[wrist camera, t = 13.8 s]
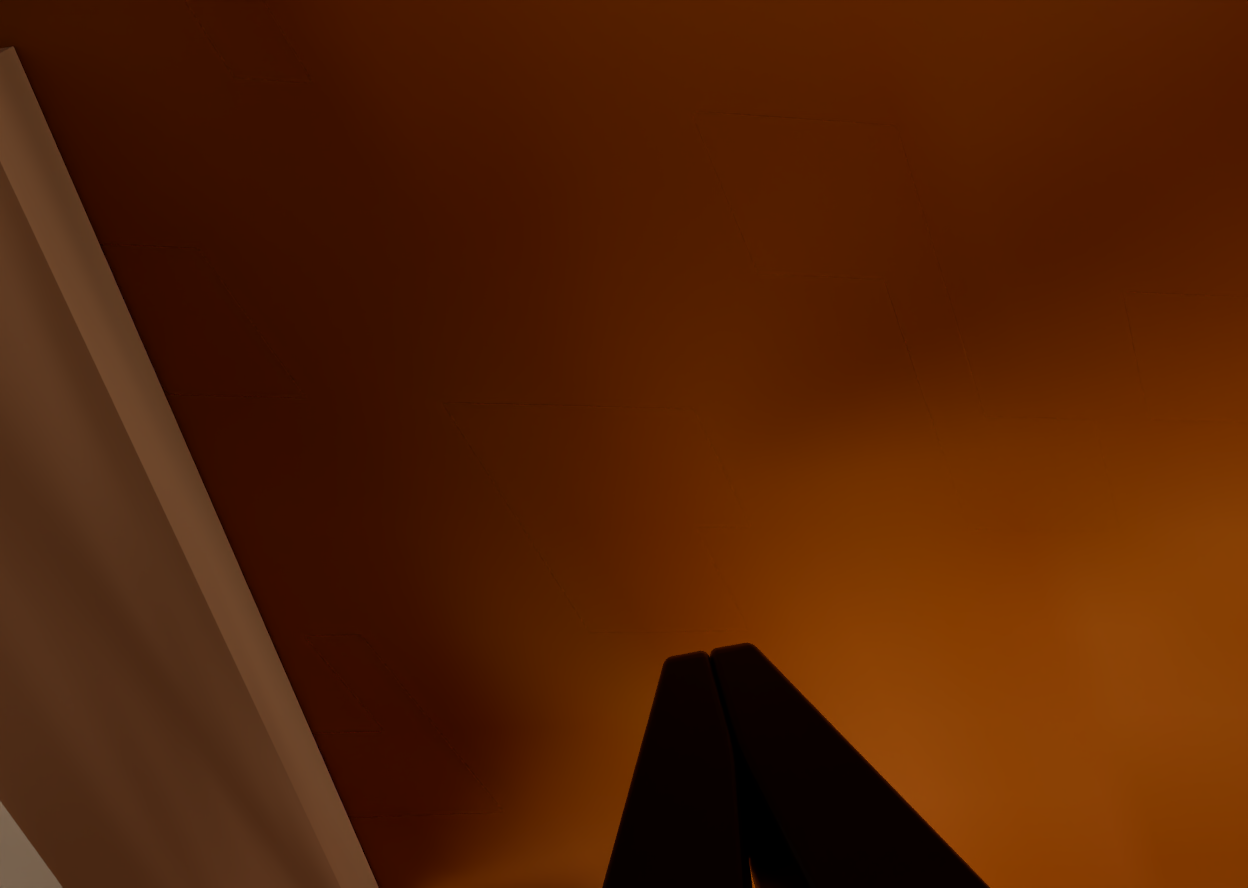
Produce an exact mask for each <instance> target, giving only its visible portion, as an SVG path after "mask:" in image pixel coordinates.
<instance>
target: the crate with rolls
mask: <svg viewBox="0 0 1248 888" xmlns="http://www.w3.org/2000/svg"><path fill="white" fill-rule="evenodd" d="M0 888H379V887H378V885H377V883H376V880H375V878H374V876H373V873H372V871H371V869H370V866H369V864H368V862H367V859H366V857H365V855H364V853H363V850H362V848H361V846H360V843H359V841H358V839H357V836H356V834H355V832H354V830H353V827H352V825H351V823H350V820H349V818H348V816H347V813H346V811H345V809H344V806H343V804H342V802H341V800H340V797H339V795H338V793H337V790H336V788H335V786H334V783H333V781H332V779H331V777H330V774H329V772H328V770H327V767H326V765H325V763H324V760H323V758H322V756H321V753H320V751H319V749H318V747H317V744H316V742H315V740H314V737H313V735H312V733H311V730H310V728H309V726H308V724H307V721H306V719H305V717H304V714H303V712H302V710H301V707H300V705H299V703H298V700H297V698H296V696H295V694H294V691H293V689H292V687H291V684H290V682H289V680H288V677H287V675H286V673H285V671H284V668H283V666H282V664H281V661H280V659H279V657H278V654H277V652H276V650H275V648H274V645H273V643H272V641H271V638H270V636H269V634H268V631H267V629H266V627H265V624H264V622H263V620H262V618H261V615H260V613H259V611H258V608H257V606H256V604H255V601H254V599H253V597H252V595H251V592H250V590H249V588H248V585H247V583H246V581H245V578H244V576H243V574H242V571H241V569H240V567H239V565H238V562H237V560H236V558H235V555H234V553H233V551H232V548H231V546H230V544H229V542H228V539H227V537H226V535H225V532H224V530H223V528H222V525H221V523H220V521H219V518H218V516H217V514H216V512H215V509H214V507H213V505H212V502H211V500H210V498H209V495H208V493H207V491H206V489H205V486H204V484H203V482H202V479H201V477H200V475H199V472H198V470H197V468H196V465H195V463H194V461H193V459H192V456H191V454H190V452H189V449H188V447H187V445H186V442H185V440H184V438H183V436H182V433H181V431H180V429H179V426H178V424H177V422H176V419H175V417H174V415H173V413H172V410H171V408H170V406H169V403H168V401H167V399H166V396H165V394H164V392H163V389H162V387H161V385H160V383H159V380H158V378H157V376H156V373H155V371H154V369H153V366H152V364H151V362H150V360H149V357H148V355H147V353H146V350H145V348H144V346H143V343H142V341H141V339H140V336H139V334H138V332H137V330H136V327H135V325H134V323H133V320H132V318H131V316H130V313H129V311H128V309H127V307H126V304H125V302H124V300H123V297H122V295H121V293H120V290H119V288H118V286H117V283H116V281H115V279H114V277H113V274H112V272H111V270H110V267H109V265H108V263H107V260H106V258H105V256H104V254H103V251H102V249H101V247H100V244H99V242H98V240H97V237H96V235H95V233H94V230H93V228H92V226H91V224H90V221H89V219H88V217H87V214H86V212H85V210H84V207H83V205H82V203H81V201H80V198H79V196H78V194H77V191H76V189H75V187H74V184H73V182H72V180H71V177H70V175H69V173H68V171H67V168H66V166H65V164H64V161H63V159H62V157H61V154H60V152H59V150H58V148H57V145H56V143H55V141H54V138H53V136H52V134H51V131H50V129H49V127H48V125H47V122H46V120H45V118H44V115H43V113H42V111H41V108H40V106H39V104H38V101H37V99H36V97H35V95H34V92H33V90H32V88H31V85H30V83H29V81H28V78H27V76H26V74H25V72H24V69H23V67H22V65H21V62H20V60H19V58H18V55H17V53H16V51H15V48H14V46H12V47H5V48H0Z"/></svg>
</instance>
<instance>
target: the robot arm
mask: <svg viewBox="0 0 1248 888" xmlns="http://www.w3.org/2000/svg"><path fill="white" fill-rule="evenodd" d="M750 869H751V872H750ZM751 873H752V877H753V881H754V884H755V887H756V888H990V887H989V886H988V885H987V884H986V883H985V882H984V881H983V880H982V879H981V878H980V877H979V876H978V875H977V874H976V873H975V872H974V871H973V870H972V869H971V868H970V867H969V865H968V864H967V863H966V862H965V861H964V860H963V859H962V858H961V857H960V856H959V855H958V854H957V853H956V852H955V851H954V850H953V849H952V848H951V847H950V846H949V845H948V844H947V843H946V842H945V841H944V840H943V839H942V838H941V837H940V836H939V835H938V834H937V833H936V831H935V830H934V829H933V828H932V827H931V826H930V825H929V824H928V823H927V822H926V821H925V820H924V819H923V818H922V817H921V816H920V815H919V814H918V813H917V812H916V811H915V810H914V809H913V808H912V807H911V806H910V805H909V804H908V803H907V802H906V801H905V800H904V799H903V798H902V796H901V795H900V794H899V793H898V792H897V791H896V790H895V789H894V788H893V787H892V786H891V785H890V784H889V783H888V782H887V781H886V780H885V779H884V778H883V777H882V776H881V775H880V774H879V773H878V772H877V771H876V770H875V769H874V768H873V767H872V766H871V765H870V764H869V763H868V761H867V760H866V759H865V758H864V757H863V756H862V755H861V754H860V753H859V752H858V751H857V750H856V749H855V748H854V747H853V746H852V745H851V744H850V743H849V742H848V741H847V740H846V739H845V738H844V737H843V736H842V735H841V734H840V733H839V732H838V731H837V730H836V729H835V727H834V726H833V725H832V724H831V723H830V722H829V721H828V720H827V719H826V718H825V717H824V716H823V715H822V714H821V713H820V712H819V711H818V710H817V709H816V708H815V707H814V706H813V705H812V704H811V703H810V702H809V701H808V700H807V699H806V698H805V697H804V696H803V695H802V694H801V692H800V691H799V690H798V689H797V688H796V687H795V686H794V685H793V684H792V683H791V682H790V681H789V680H788V679H787V678H786V677H785V676H784V675H783V674H782V673H781V672H780V671H779V670H778V669H777V668H776V667H775V666H774V665H773V664H772V663H771V662H770V661H769V660H768V659H767V657H766V656H765V655H764V654H763V653H762V652H761V651H760V650H759V649H758V648H757V647H755V646H754V645H753V644H750V643H742V644H736V645H731V646H725V647H720V648H715V649H714V650H712V651H711V654H710V657H709V655H708V654H707V653H706V652H704V651H698V652H692V653H687V654H682V655H676V656H671V657H669V658H667V659H666V661H665V662H664V664H663V668H662V671H661V675H660V679H659V682H658V686H657V690H656V693H655V697H654V701H653V704H652V708H651V712H650V715H649V719H648V723H647V726H646V730H645V733H644V737H643V741H642V744H641V748H640V752H639V755H638V759H637V763H636V766H635V770H634V774H633V777H632V781H631V785H630V788H629V792H628V796H627V799H626V803H625V807H624V810H623V814H622V818H621V821H620V825H619V829H618V832H617V836H616V840H615V843H614V847H613V851H612V854H611V858H610V862H609V865H608V869H607V872H606V876H605V880H604V883H603V887H602V888H752V880H751Z"/></svg>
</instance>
